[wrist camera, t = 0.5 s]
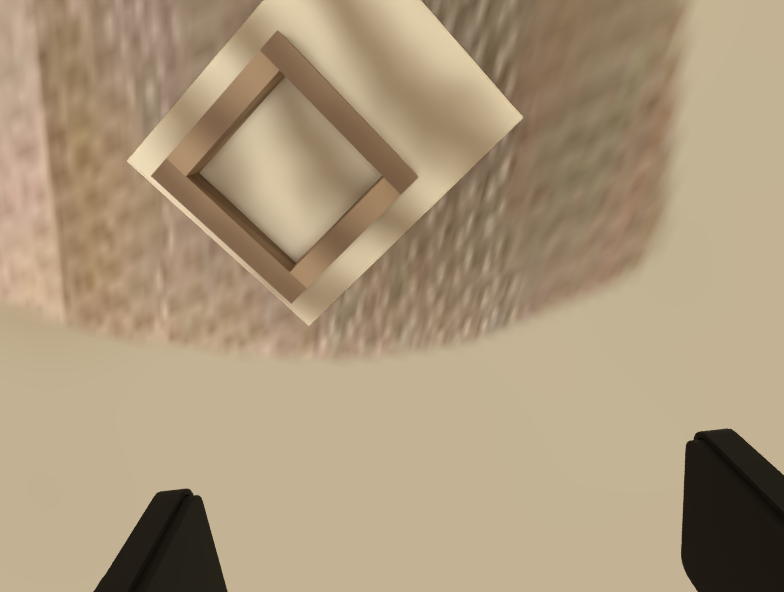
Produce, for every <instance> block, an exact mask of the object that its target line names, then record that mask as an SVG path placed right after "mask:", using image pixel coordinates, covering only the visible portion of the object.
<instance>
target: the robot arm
mask: <svg viewBox="0 0 784 592" xmlns="http://www.w3.org/2000/svg"><path fill="white" fill-rule="evenodd" d="M681 558H682V563H683V566H684V569H685V572H686V574H687V576H688V577H689V579H690V581H691V582H692V584H693V585H694V586H695V588H696V590H697V591H698V592H784V475H783V474H782V473H781V472H780V471H778V470H777V469H776V468H775V467H774V466H773V465H772V464H770V462H768V461H767V460H766V459H765V458H764V457H763V456H762V455H761V454H759V453H758V452H757V451H756V450H755V449H754V448H753V447H752V446H751V445H749V444H748V443H747V442H746V441H745V440H744V439H743V438H742V437H740V436H739V435H738V434H737V433H736V432H735V431H733V430H732V429H720V430H710V431H701V432H698V433H696V434H695V436H694V440H692V441H689V442H687V444H686V453H685V476H684V501H683V522H682V546H681ZM94 592H227V589H226V585H225V581H224V578H223V574H222V570H221V566H220V563H219V559H218V555H217V552H216V548H215V544H214V541H213V537H212V534H211V530H210V526H209V523H208V519H207V515H206V512H205V508H204V504H203V501H202V498H201V497H200V496H198V495H195V496H193V493H192V492H191V490H190V489H180V490H170V491H161V492H158V493H157V494H156V495H155V496H154V498H153V499H152V501H151V502H150V504H149V505H148V507H147V509H146V510H145V512H144V513H143V515H142V517H141V518H140V520H139V522H138V523H137V525H136V526H135V528H134V530H133V531H132V533H131V534H130V536H129V538H128V539H127V541H126V542H125V544H124V546H123V547H122V549H121V550H120V552H119V554H118V555H117V557H116V558H115V560H114V562H113V563H112V565H111V567H110V568H109V570H108V571H107V573H106V575H105V576H104V577H103V578H102V579H101V581H100V583H99V584H98V586H97V587H96V589H95V590H94Z"/></svg>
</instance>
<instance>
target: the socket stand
mask: <svg viewBox="0 0 784 592" xmlns="http://www.w3.org/2000/svg"><path fill="white" fill-rule="evenodd" d="M522 118H523V117H522V116H521V115H520V113H519V112H518V111H517V110H516V109H515V108H514V106H513V105H512V104H511V103H510V102H509V101H508V100H507V98H506V97H505V96H504V95H503V94H502V93H501V92H500V90H499V89H498V88H497V87H496V86H495V85H494V84H493V82H492V81H491V80H490V79H489V78H488V77H487V75H486V74H485V73H484V72H483V71H482V70H481V69H480V67H479V66H478V65H477V64H476V63H475V62H474V61H473V59H472V58H471V57H470V56H469V55H468V54H467V53H466V51H465V50H464V49H463V48H462V47H461V46H460V44H459V43H458V42H457V41H456V40H455V39H454V38H453V36H452V35H451V34H450V33H449V32H448V31H447V30H446V28H445V27H444V26H443V25H442V24H441V23H440V22H439V20H438V19H437V18H436V17H435V16H434V15H433V13H432V12H431V11H430V10H429V9H428V8H427V7H426V5H425V4H424V3H423V2H422V1H421V0H263V1H262V2H261V4H260V5H259V6H258V7H257V8H256V9H255V11H254V12H253V13H252V14H251V15H250V17H249V18H248V19H247V20H246V21H245V22H244V24H243V25H242V26H241V27H240V28H239V29H238V31H237V32H236V33H235V34H234V35H233V37H232V38H231V39H230V40H229V41H228V42H227V44H226V45H225V46H224V47H223V48H222V50H221V51H220V52H219V53H218V54H217V55H216V57H215V58H214V59H213V60H212V61H211V63H210V64H209V65H208V66H207V67H206V68H205V70H204V71H203V72H202V73H201V74H200V75H199V77H198V78H197V79H196V80H195V81H194V83H193V84H192V85H191V86H190V87H189V88H188V90H187V91H186V92H185V93H184V94H183V96H182V97H181V98H180V99H179V100H178V101H177V103H176V104H175V105H174V106H173V107H172V109H171V110H170V111H169V112H168V113H167V114H166V116H165V117H164V118H163V119H162V120H161V121H160V123H159V124H158V125H157V126H156V127H155V129H154V130H153V131H152V132H151V133H150V134H149V136H148V137H147V138H146V139H145V140H144V142H143V143H142V144H141V145H140V146H139V147H138V149H137V150H136V151H135V152H134V153H133V155H132V156H131V157H130V158H129V159H128V160H127V162H128V163H129V164H130V165H132V166H133V167H134V168H135V169H136V170H137V171H138V172H139V173H140V174H142V175H143V176H144V177H145V178H146V179H147V180H148V181H149V182H150V183H151V184H153V185H154V186H155V187H156V188H157V189H158V190H159V191H160V192H161V193H162V194H164V195H165V196H166V197H167V198H168V199H169V200H170V201H171V202H172V203H174V204H175V205H176V206H177V207H178V208H179V209H180V210H181V211H182V212H183V213H185V214H186V215H187V216H188V217H189V218H190V219H191V220H192V221H193V222H195V223H196V224H197V225H198V226H199V227H200V228H201V229H202V230H203V231H204V232H206V233H207V234H208V235H209V236H210V237H211V238H212V239H213V240H214V241H216V242H217V243H218V244H219V245H220V246H221V247H222V248H223V249H224V250H225V251H227V252H228V253H229V254H230V255H231V256H232V257H233V258H234V259H235V260H237V261H238V262H239V263H240V264H241V265H242V266H243V267H244V268H245V269H246V270H248V271H249V272H250V273H251V274H252V275H253V276H254V277H255V278H256V279H257V280H259V281H260V282H261V283H262V284H263V285H264V286H265V287H266V288H267V289H269V290H270V291H271V292H272V293H273V294H274V295H275V296H276V297H277V298H278V299H280V300H281V301H282V302H283V303H284V304H285V305H286V306H287V307H288V308H290V309H291V310H292V311H293V312H294V313H295V314H296V315H297V316H298V317H299V318H301V319H302V320H303V321H304V322H305V323H306V324H307V325H308V326H309V325H311V324H312V323H313V322H314V321H315V320H316V319H317V318H318V317H319V316H320V315H321V314H322V313H323V312H324V311H325V310H326V309H327V308H328V307H329V306H330V305H331V304H332V303H333V302H334V301H335V300H336V299H337V298H338V297H339V296H340V295H341V294H342V293H343V292H344V291H345V290H347V289H348V288H349V287H350V286H351V285H352V284H353V283H354V282H355V281H356V280H357V279H358V278H359V277H360V276H361V275H362V274H363V273H364V272H365V271H366V270H367V269H368V268H369V267H370V266H371V265H372V264H373V263H374V262H375V261H376V260H377V259H378V258H379V257H380V256H381V255H383V254H384V253H385V252H386V251H387V250H388V249H389V248H390V247H391V246H392V245H393V244H394V243H395V242H396V241H397V240H398V239H399V238H400V237H401V236H402V235H403V234H404V233H405V232H406V231H407V230H408V229H409V228H410V227H411V226H412V225H413V224H414V223H415V222H416V221H418V220H419V219H420V218H421V217H422V216H423V215H424V214H425V213H426V212H427V211H428V210H429V209H430V208H431V207H432V206H433V205H434V204H435V203H436V202H437V201H438V200H439V199H440V198H441V197H442V196H443V195H444V194H445V193H446V192H447V191H448V190H449V189H450V188H451V187H452V186H454V185H455V184H456V183H457V182H458V181H459V180H460V179H461V178H462V177H463V176H464V175H465V174H466V173H467V172H468V171H469V170H470V169H471V168H472V167H473V166H474V165H475V164H476V163H477V162H478V161H479V160H480V159H481V158H482V157H483V156H484V155H485V154H486V153H487V152H488V151H490V150H491V149H492V148H493V147H494V146H495V145H496V144H497V143H498V142H499V141H500V140H501V139H502V138H503V137H504V136H505V135H506V134H507V133H508V132H509V131H510V130H511V129H512V128H513V127H514V126H515V125H516V124H517V123H518V122H519V121H520V120H521V119H522Z"/></svg>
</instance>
